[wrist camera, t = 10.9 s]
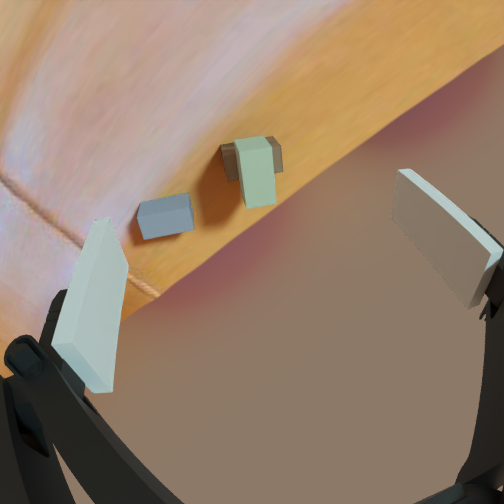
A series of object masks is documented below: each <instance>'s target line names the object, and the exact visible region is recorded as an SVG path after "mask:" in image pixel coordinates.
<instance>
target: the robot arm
mask: <svg viewBox="0 0 504 504" xmlns="http://www.w3.org/2000/svg"><path fill="white" fill-rule="evenodd" d="M391 219H392V221H393V222H394V223H395V224H396V225H397V226H398V227H399V228H400V229H401V230H402V232H403V233H404V234H405V235H406V236H407V237H408V238H409V239H410V241H411V242H412V243H413V244H414V245H415V246H416V247H417V249H418V250H419V251H420V252H421V253H422V254H423V256H424V257H425V258H426V259H427V260H428V261H429V263H430V264H431V265H432V266H433V267H434V269H435V270H436V271H437V272H438V274H439V275H440V276H441V277H442V279H443V280H444V281H445V282H446V284H447V285H448V286H449V288H450V289H451V290H452V291H453V293H454V294H455V295H456V296H457V298H458V299H459V300H460V302H461V303H462V304H463V306H464V307H465V308H466V310H468V309H470V308H472V307H475V306H477V305H479V304H480V302H481V300H482V298H483V296H484V294H486V295H487V297H488V298H489V299H488V301H487V303H486V305H485V307H484V309H483V311H482V313H481V314H480V318H479V319H482V317H483V316H484V315H485V314H486V318H485V321H486V334H485V353H484V366H483V377H482V386H481V394H480V401H479V408H478V414H477V420H476V425H475V431H474V436H473V440H472V445H471V450H470V454H469V457H468V459H467V460H466V462H465V463H464V465H463V466H462V468H461V470H460V472H459V474H458V476H457V479H456V482H455V485H453V486H451V487H449V488H447V489H445V490H443V491H440V492H438V493H436V494H434V495H432V496H429V497H427V498H425V499H423V500H421V501H418V502H416V503H414V504H504V246H503V245H502V244H501V243H500V242H499V241H498V240H497V239H496V238H495V237H494V236H493V235H492V234H489V232H488V231H487V230H486V229H485V228H483V226H482V225H481V224H480V223H479V222H478V221H476V220H475V219H473V218H472V217H470V216H468V215H466V214H465V213H464V212H463V211H462V210H461V209H459V208H458V207H457V206H456V205H455V204H453V203H452V202H451V201H450V200H449V199H447V198H446V197H445V196H444V195H443V194H442V193H440V192H439V191H438V190H437V189H436V188H434V187H433V186H432V185H431V184H429V183H428V182H427V181H425V180H424V179H423V178H422V177H420V176H419V175H418V174H416V173H415V172H414V171H412V170H411V169H401V170H397V179H396V186H395V194H394V201H393V208H392V214H391ZM128 269H129V265H128V263H127V261H126V258H125V256H124V253H123V251H122V248H121V245H120V243H119V240H118V238H117V235H116V232H115V230H114V227H113V224H112V222H111V219H110V217H108V218H103V219H99V220H95V221H94V222H93V225H92V227H91V229H90V232H89V234H88V237H87V239H86V241H85V244H84V247H83V249H82V252H81V254H80V257H79V259H78V262H77V265H76V268H75V270H74V273H73V276H72V279H71V282H70V284H69V287H68V289H65V290H60V291H59V292H58V294H57V295H56V296H55V298H54V299H53V301H52V303H51V306H50V309H49V314H48V315H47V318H46V323H45V324H44V327H43V330H42V334H41V337H40V340H39V343H38V342H37V341H36V340H35V339H34V338H33V337H32V336H31V335H22V336H19V337H18V338H16V339H14V340H13V341H12V342H11V343H10V344H9V346H8V348H7V349H6V351H5V355H4V364H5V365H6V366H7V367H8V368H9V369H10V370H11V371H12V373H13V374H14V375H13V376H10V377H8V378H5V379H4V378H3V377H2V376H1V375H0V504H76V503H75V501H74V499H73V496H72V494H71V492H70V489H69V487H68V484H67V482H66V479H65V477H64V474H63V472H62V469H61V466H60V463H59V461H58V458H57V455H56V452H55V449H54V446H55V447H56V449H57V450H58V452H59V454H60V455H61V457H62V458H63V460H64V461H65V463H66V464H67V466H68V467H69V469H70V470H71V472H72V473H73V475H74V476H75V478H76V479H77V480H78V482H79V483H80V485H81V486H82V487H83V489H84V490H85V491H86V493H87V494H88V495H89V497H90V498H91V499H92V501H93V502H94V503H95V504H184V503H182V501H181V500H179V499H178V498H177V497H176V496H175V495H174V494H173V493H172V492H171V491H170V490H168V489H167V488H166V487H165V486H164V485H163V484H162V483H161V482H160V481H159V480H158V479H157V478H156V477H155V476H154V475H153V474H152V473H151V472H150V471H149V470H148V469H147V468H146V467H145V466H144V465H143V464H142V463H141V462H140V460H139V459H138V458H137V457H136V456H135V455H134V454H133V453H132V452H131V451H130V450H129V448H128V447H127V446H126V445H125V444H124V443H123V442H122V441H121V439H120V438H119V437H118V436H117V435H116V434H115V433H114V431H113V430H112V429H111V428H110V426H109V425H108V424H107V423H106V422H105V420H104V419H103V418H102V417H101V415H100V414H99V413H98V412H97V410H96V409H95V407H94V406H93V405H92V404H91V402H90V401H89V400H88V398H87V397H86V396H85V395H84V390H85V385H86V386H87V387H88V388H89V389H90V390H91V391H92V393H106V392H113V380H114V368H115V359H116V350H117V341H118V333H119V326H120V318H121V311H122V305H123V298H124V292H125V286H126V280H127V275H128ZM52 442H53V443H52ZM53 444H54V446H53ZM502 485H503V490H502V492H501V491H499V490H497V489H498V488H499V487H500V486H502Z"/></svg>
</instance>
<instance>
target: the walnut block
mask: <svg viewBox="0 0 504 504" xmlns="http://www.w3.org/2000/svg"><path fill="white" fill-rule="evenodd" d="M265 139H266V140H267V141H268V142H269V144H270V145H271V146H272V154H273V166H274V173H280V172H283V163H282V151H281V145H280V144H279V143H278V142H277V141H276V139H275V138H274V137H273V136H271V137H265ZM220 146H221V152H222V158H223V164H224V169H225V173H226V177H227V180H228V182H230V181H235V180H239V174H238V167H237V159H236V152H235V145H234V143H228V144H223V145H220Z"/></svg>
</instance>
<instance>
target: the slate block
mask: <svg viewBox="0 0 504 504" xmlns="http://www.w3.org/2000/svg"><path fill="white" fill-rule="evenodd" d="M137 220H138V223H139V226H140V229H141V232H142V235H143V238H144V240H146V239H151V238H156V237H161V236H166V235H171V234H176V233H181V232H186V231H192V230H194V214H193V209H192V205H191V200H190V196H189V193H184V194H179V195H174V196H169V197H164V198H159V199H155V200H150V201H145V202H141V203H140V207H139V211H138V215H137Z"/></svg>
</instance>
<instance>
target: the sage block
mask: <svg viewBox="0 0 504 504" xmlns="http://www.w3.org/2000/svg"><path fill="white" fill-rule="evenodd" d="M234 145H235V152H236V159H237V167H238V174H239V181H240V188H241V194H242V197H243V200H244V203H245V206H246V209H250V208H256V207H261V206H267V205H273V204H276V191H275V178H274V166H273V154H272V146H271V145H270V144H269V142H268V141H267V140H266V139H265V137H264V136H257V137H251V138H244V139H238V140H234Z"/></svg>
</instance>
